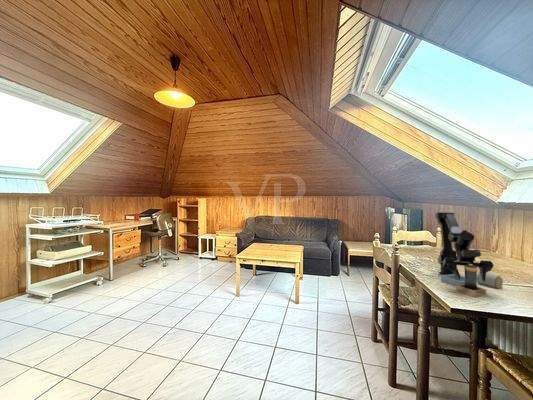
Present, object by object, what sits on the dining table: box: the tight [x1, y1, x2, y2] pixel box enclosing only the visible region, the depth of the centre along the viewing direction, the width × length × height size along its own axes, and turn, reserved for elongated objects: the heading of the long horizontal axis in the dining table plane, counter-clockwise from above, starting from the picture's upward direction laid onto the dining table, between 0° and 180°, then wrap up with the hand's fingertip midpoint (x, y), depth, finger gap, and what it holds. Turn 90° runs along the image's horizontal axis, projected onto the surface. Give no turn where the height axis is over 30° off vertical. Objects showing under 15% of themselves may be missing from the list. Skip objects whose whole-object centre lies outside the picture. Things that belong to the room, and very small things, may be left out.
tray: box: [440, 274, 465, 287], centre depth 123 cm, size 11×11×4 cm
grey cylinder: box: [477, 271, 504, 289], centre depth 121 cm, size 11×8×8 cm
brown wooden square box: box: [454, 284, 488, 298], centre depth 111 cm, size 9×9×4 cm
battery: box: [463, 264, 478, 290], centre depth 111 cm, size 4×4×14 cm
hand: (471, 279), depth 109 cm, fingers open, 9 cm apart
